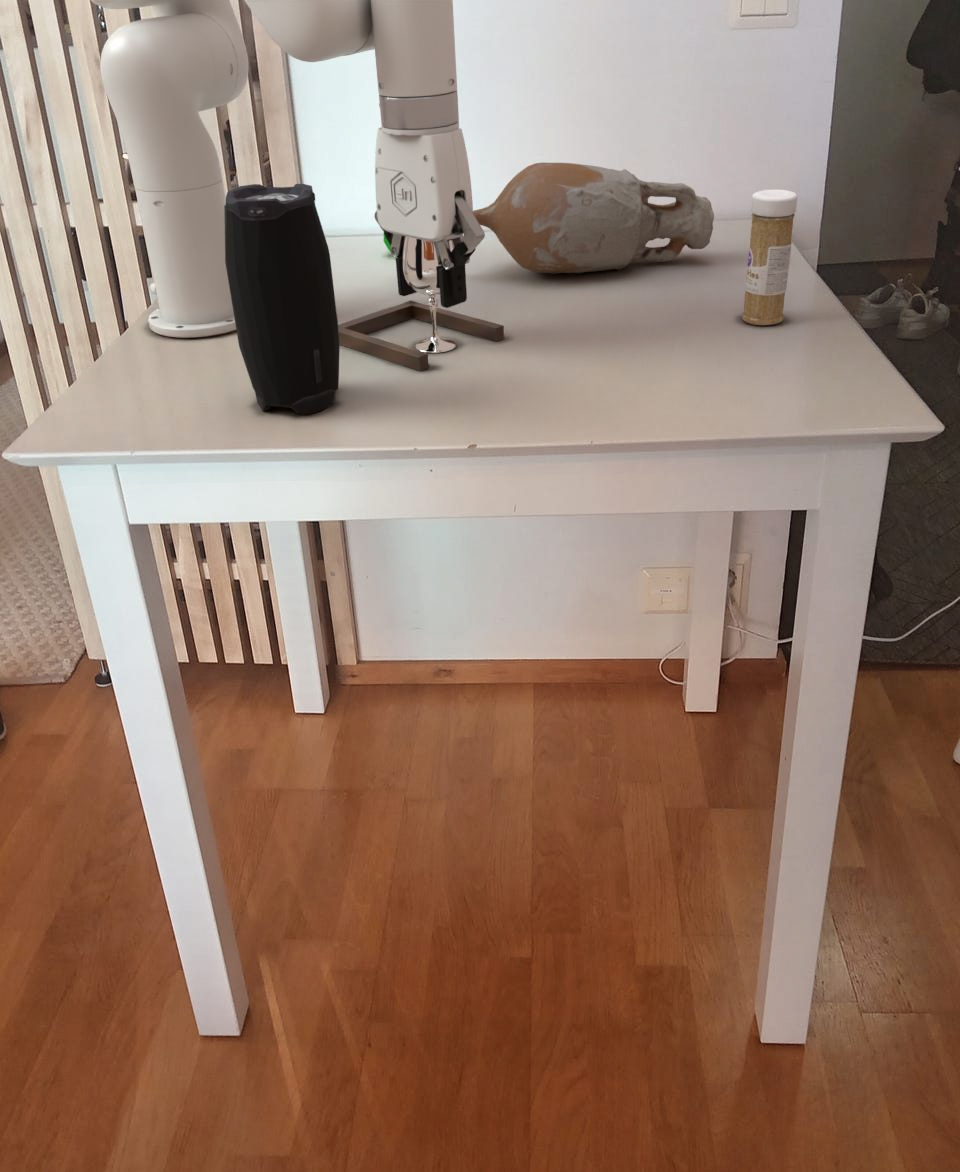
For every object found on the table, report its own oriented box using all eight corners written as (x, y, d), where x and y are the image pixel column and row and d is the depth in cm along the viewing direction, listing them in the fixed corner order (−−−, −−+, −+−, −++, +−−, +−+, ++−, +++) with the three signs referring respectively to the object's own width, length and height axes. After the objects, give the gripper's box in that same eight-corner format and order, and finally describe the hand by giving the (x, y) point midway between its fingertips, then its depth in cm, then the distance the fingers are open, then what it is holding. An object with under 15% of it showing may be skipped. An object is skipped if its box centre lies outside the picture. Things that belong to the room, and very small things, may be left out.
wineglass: (455, 356, 112) (449, 239, 106) (403, 354, 113) (393, 239, 107) (467, 337, 117) (461, 225, 111) (416, 336, 118) (408, 225, 112)
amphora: (454, 165, 134) (688, 103, 133) (480, 280, 145) (697, 223, 144) (467, 211, 124) (721, 144, 123) (495, 330, 135) (727, 270, 134)
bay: (328, 341, 118) (327, 327, 117) (412, 312, 125) (411, 300, 125) (420, 371, 109) (419, 357, 108) (504, 338, 116) (503, 325, 115)
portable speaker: (243, 394, 106) (207, 187, 95) (335, 379, 108) (310, 175, 98) (258, 425, 99) (221, 206, 89) (356, 408, 101) (332, 193, 91)
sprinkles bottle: (734, 316, 119) (744, 190, 112) (772, 311, 120) (784, 186, 113) (753, 329, 115) (765, 199, 108) (791, 324, 116) (806, 195, 109)
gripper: (333, 112, 106) (353, 292, 116) (453, 126, 96) (464, 323, 105) (390, 101, 111) (405, 276, 120) (511, 114, 100) (516, 304, 109)
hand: (432, 296), depth 112 cm, fingers closed on wineglass, 5 cm apart
